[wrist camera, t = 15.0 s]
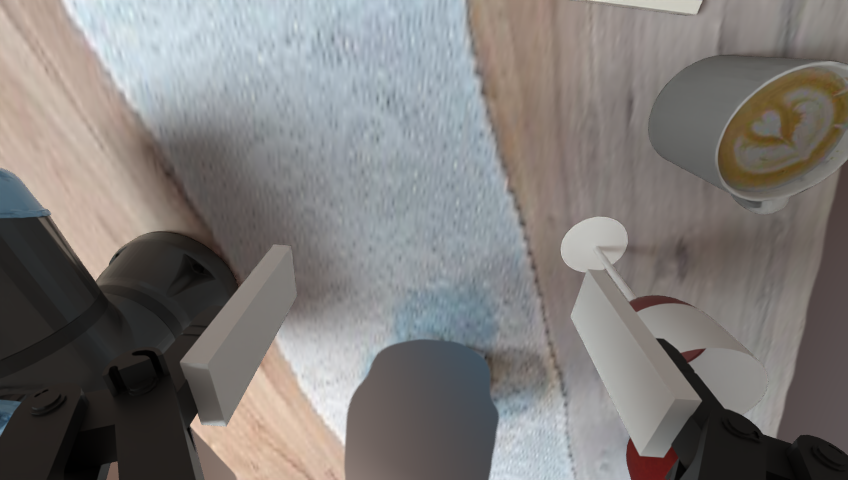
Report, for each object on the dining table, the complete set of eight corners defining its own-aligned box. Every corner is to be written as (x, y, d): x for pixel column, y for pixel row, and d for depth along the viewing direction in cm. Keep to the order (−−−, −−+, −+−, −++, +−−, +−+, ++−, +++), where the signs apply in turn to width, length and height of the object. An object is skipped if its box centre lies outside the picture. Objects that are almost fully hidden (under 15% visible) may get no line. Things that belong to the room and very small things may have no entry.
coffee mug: (646, 77, 33) (717, 90, 25) (768, 38, 31) (892, 37, 23) (651, 204, 39) (710, 251, 30) (754, 178, 37) (848, 220, 28)
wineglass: (584, 202, 39) (694, 329, 22) (647, 234, 41) (798, 377, 23) (542, 256, 43) (608, 403, 26) (601, 284, 45) (702, 441, 27)
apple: (690, 434, 57) (734, 504, 49) (640, 460, 61) (672, 529, 53) (652, 409, 55) (691, 478, 46) (602, 437, 59) (629, 506, 50)
